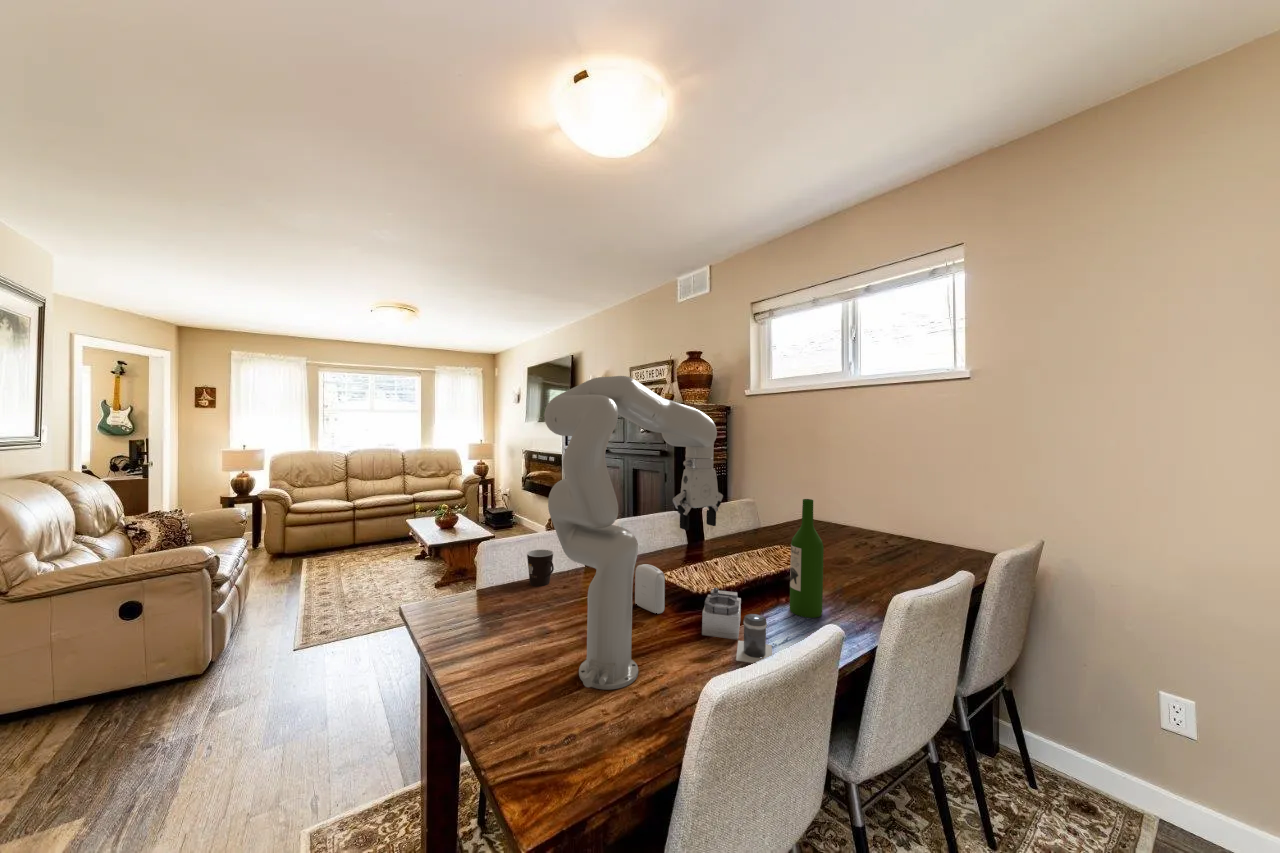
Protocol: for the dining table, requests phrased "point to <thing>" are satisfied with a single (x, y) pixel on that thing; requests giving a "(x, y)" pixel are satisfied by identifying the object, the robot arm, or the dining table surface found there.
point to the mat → (745, 658)
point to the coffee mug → (540, 567)
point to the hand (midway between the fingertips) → (698, 527)
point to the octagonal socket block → (721, 614)
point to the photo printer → (650, 588)
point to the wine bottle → (806, 567)
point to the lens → (755, 635)
